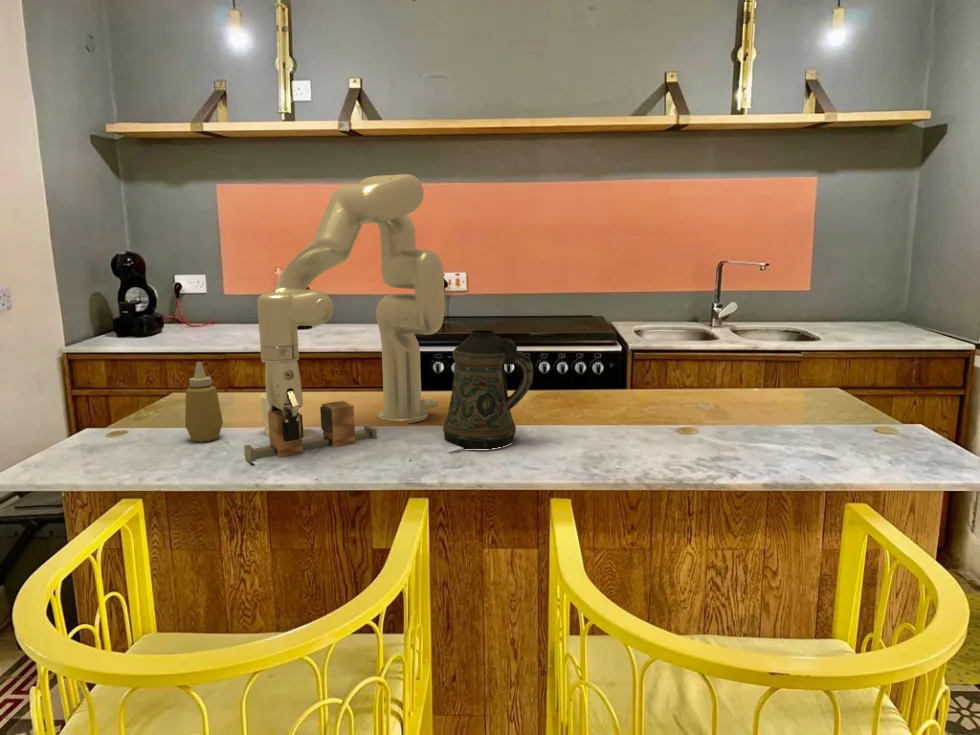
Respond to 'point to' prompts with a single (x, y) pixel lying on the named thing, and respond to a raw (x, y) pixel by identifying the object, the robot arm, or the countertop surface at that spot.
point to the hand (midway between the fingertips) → (285, 435)
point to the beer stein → (484, 392)
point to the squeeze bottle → (202, 408)
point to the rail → (305, 444)
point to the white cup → (266, 411)
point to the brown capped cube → (277, 434)
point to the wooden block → (338, 422)
